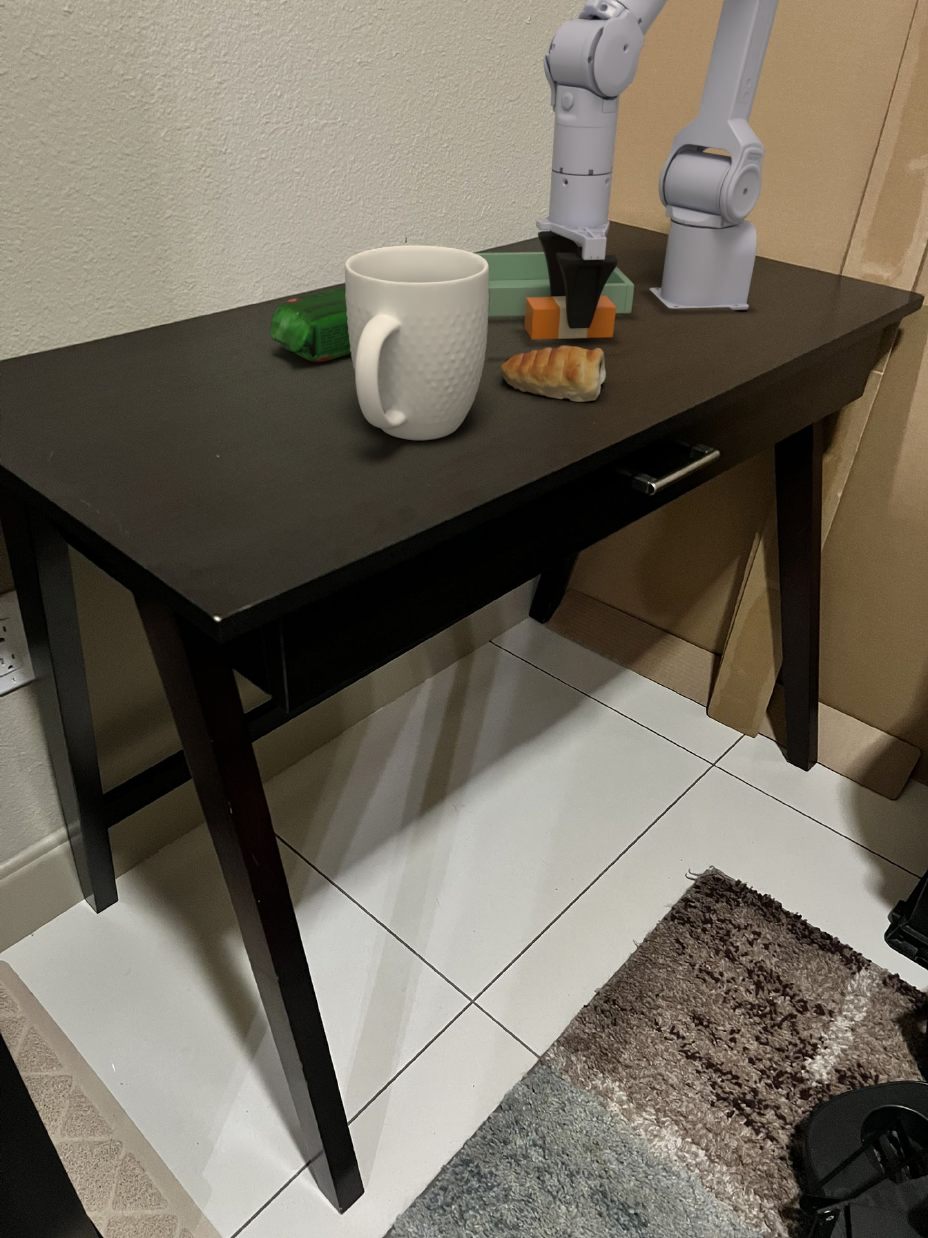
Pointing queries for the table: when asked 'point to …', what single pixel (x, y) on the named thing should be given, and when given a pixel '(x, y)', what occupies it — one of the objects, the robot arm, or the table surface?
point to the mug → (417, 336)
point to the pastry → (558, 372)
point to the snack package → (313, 325)
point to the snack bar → (565, 319)
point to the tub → (538, 283)
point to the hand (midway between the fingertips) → (570, 315)
